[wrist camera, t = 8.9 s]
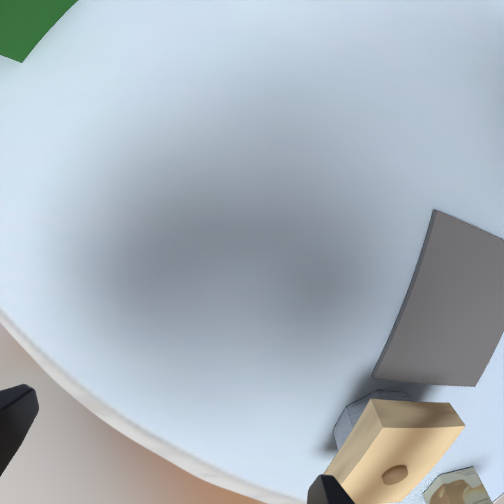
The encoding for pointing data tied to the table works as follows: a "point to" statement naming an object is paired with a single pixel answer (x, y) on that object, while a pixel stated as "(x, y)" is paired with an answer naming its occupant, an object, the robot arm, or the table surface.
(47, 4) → the hardback book
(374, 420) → the lid
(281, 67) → the table surface
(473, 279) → the mat
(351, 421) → the bowl
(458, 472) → the skincare box
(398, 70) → the table surface
